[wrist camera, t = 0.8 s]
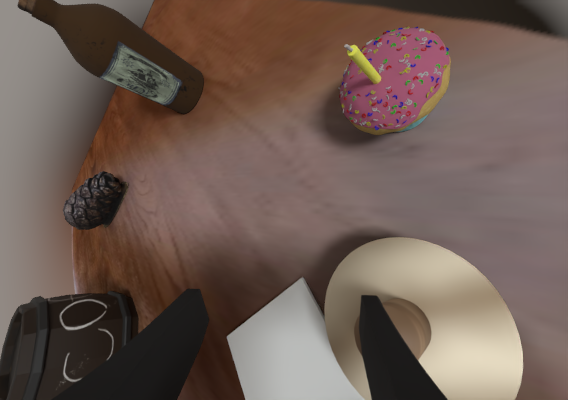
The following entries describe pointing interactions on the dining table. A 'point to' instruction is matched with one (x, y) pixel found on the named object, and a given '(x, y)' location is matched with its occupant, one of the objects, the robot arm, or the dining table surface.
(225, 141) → the dining table surface
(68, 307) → the dark grey barrel
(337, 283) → the lid
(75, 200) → the pine cone
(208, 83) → the dining table surface
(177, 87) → the olive oil
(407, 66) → the cupcake
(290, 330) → the mat
